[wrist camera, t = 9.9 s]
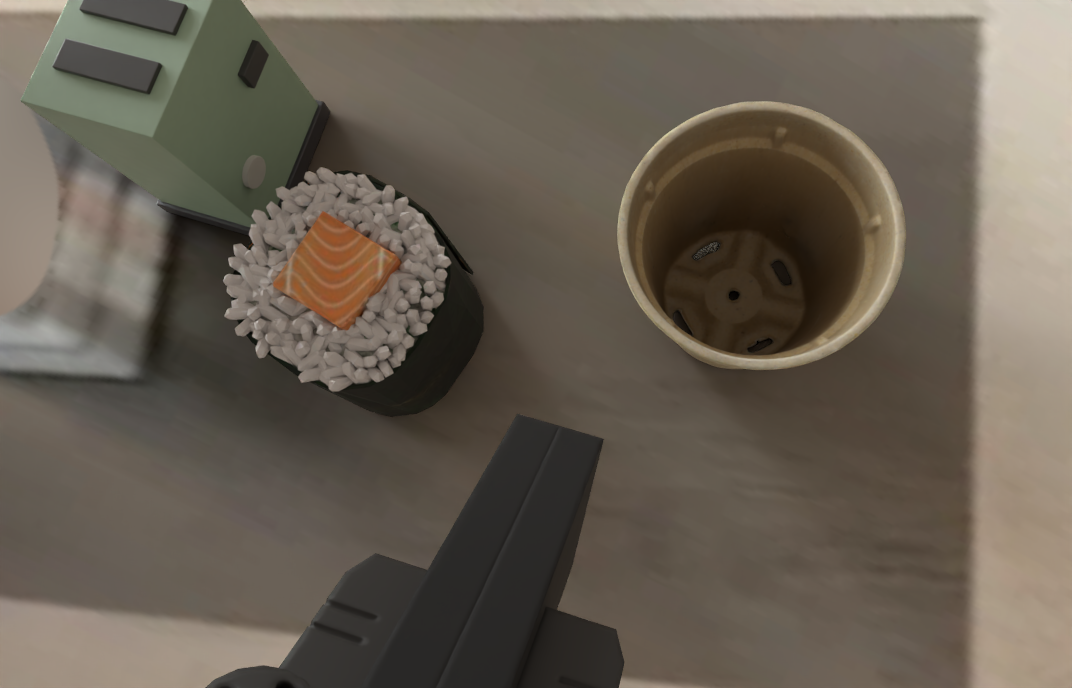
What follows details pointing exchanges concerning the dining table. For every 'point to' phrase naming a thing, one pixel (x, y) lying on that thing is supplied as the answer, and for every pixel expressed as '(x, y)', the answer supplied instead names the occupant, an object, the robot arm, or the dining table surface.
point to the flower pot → (762, 235)
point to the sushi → (356, 293)
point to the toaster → (181, 103)
